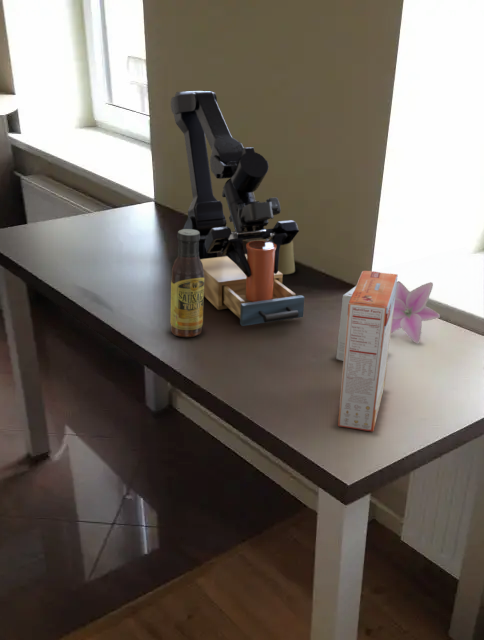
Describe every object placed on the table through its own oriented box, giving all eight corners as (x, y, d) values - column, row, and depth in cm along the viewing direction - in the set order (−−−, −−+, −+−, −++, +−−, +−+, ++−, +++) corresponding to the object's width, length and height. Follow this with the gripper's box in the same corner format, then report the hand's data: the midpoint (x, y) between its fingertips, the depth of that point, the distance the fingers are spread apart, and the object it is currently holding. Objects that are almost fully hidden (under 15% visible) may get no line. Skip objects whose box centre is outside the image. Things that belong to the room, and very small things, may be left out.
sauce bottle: (178, 341, 140) (176, 238, 130) (165, 329, 145) (162, 229, 135) (209, 335, 143) (210, 234, 133) (196, 323, 147) (195, 225, 138)
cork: (265, 271, 175) (267, 225, 169) (276, 264, 179) (278, 219, 174) (288, 276, 172) (291, 229, 167) (299, 268, 177) (302, 223, 172)
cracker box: (348, 386, 126) (361, 268, 116) (384, 391, 124) (400, 273, 114) (334, 427, 114) (347, 300, 104) (373, 433, 113) (390, 305, 102)
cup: (238, 296, 152) (239, 243, 146) (261, 289, 155) (263, 238, 149) (257, 305, 148) (259, 251, 142) (279, 298, 151) (282, 246, 145)
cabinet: (281, 301, 159) (282, 273, 156) (218, 310, 154) (218, 282, 151) (253, 278, 170) (254, 252, 167) (193, 286, 165) (193, 260, 162)
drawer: (312, 324, 146) (313, 304, 144) (250, 334, 141) (251, 313, 139) (274, 293, 160) (275, 274, 158) (216, 301, 155) (216, 282, 153)
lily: (363, 327, 150) (365, 297, 142) (405, 296, 153) (409, 265, 145) (405, 363, 144) (410, 334, 136) (448, 330, 147) (455, 300, 139)
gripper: (210, 186, 140) (231, 261, 137) (297, 179, 147) (320, 250, 143) (195, 216, 150) (215, 286, 147) (278, 209, 157) (298, 275, 154)
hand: (262, 274), depth 147 cm, fingers closed on cup, 5 cm apart
